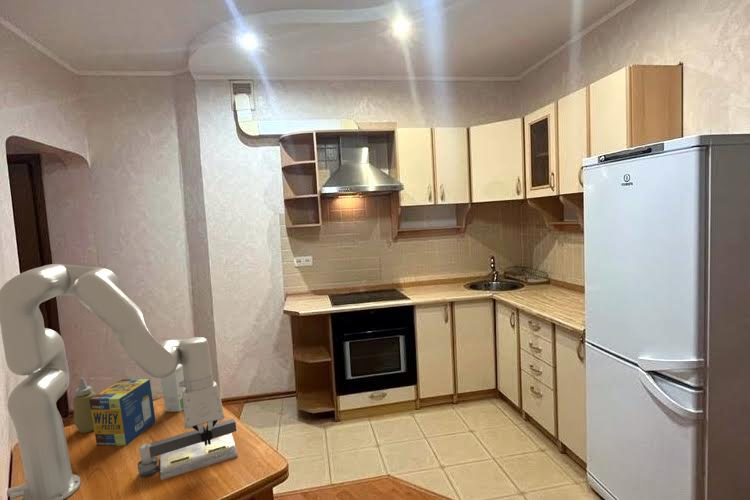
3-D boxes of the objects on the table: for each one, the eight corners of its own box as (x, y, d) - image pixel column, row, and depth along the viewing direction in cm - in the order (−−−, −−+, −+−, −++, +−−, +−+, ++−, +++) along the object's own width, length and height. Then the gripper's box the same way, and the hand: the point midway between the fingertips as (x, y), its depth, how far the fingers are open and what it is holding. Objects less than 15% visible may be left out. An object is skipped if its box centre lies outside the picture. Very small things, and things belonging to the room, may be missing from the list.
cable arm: (141, 465, 121) (139, 451, 120) (141, 460, 123) (139, 446, 123) (237, 435, 133) (235, 422, 132) (235, 431, 135) (233, 418, 135)
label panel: (161, 480, 119) (160, 474, 119) (161, 457, 130) (160, 453, 130) (237, 456, 128) (237, 451, 127) (231, 437, 138) (231, 432, 138)
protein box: (95, 446, 140) (88, 399, 138) (129, 421, 155) (122, 378, 153) (126, 446, 138) (118, 398, 136) (156, 421, 153) (150, 378, 151)
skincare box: (180, 412, 158) (174, 370, 156) (163, 411, 160) (157, 370, 158) (194, 401, 166) (188, 361, 164) (178, 401, 168) (172, 361, 166)
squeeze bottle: (78, 427, 153) (69, 377, 151) (105, 420, 157) (97, 371, 154) (73, 437, 146) (64, 385, 144) (102, 430, 149) (93, 379, 147)
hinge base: (138, 479, 120) (137, 469, 120) (139, 470, 124) (137, 460, 124) (159, 473, 122) (157, 463, 122) (159, 464, 127) (157, 454, 126)
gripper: (170, 393, 119) (179, 457, 121) (228, 379, 125) (236, 441, 127) (170, 383, 126) (179, 444, 128) (225, 371, 132) (232, 429, 134)
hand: (207, 442), depth 127 cm, fingers closed
